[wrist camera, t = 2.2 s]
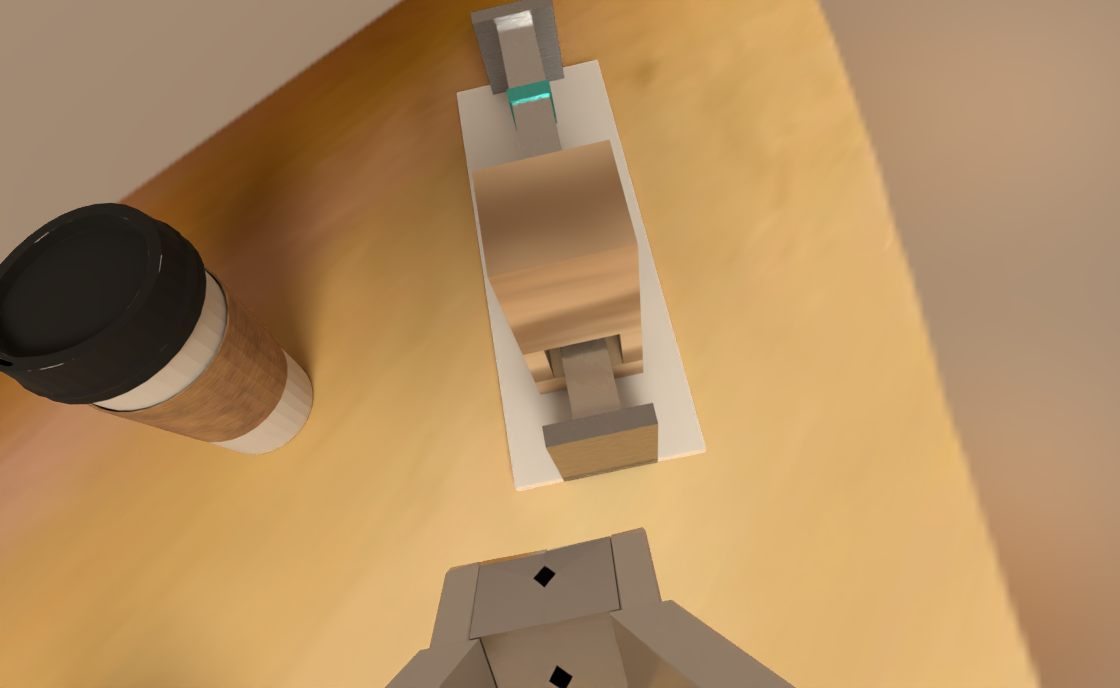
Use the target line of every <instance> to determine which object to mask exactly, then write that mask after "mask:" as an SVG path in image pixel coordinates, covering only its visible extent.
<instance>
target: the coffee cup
mask: <svg viewBox="0 0 1120 688" xmlns="http://www.w3.org/2000/svg"><path fill="white" fill-rule="evenodd" d="M0 371H1V372H4V373H5V374H7V375H9V376H10V377H12V378H14V379H16V380H17V381H18V382H19V383H20V384H21V385H22V386H23V387H24V388H25V389H27V390H29V391H31V392H33V393H35V394H37V395H39V396H42V397H46V398H48V399H50V400H52V401H56V402H61V403H66V404H88V405H89V406H91V407H93V408H95V409H97V410H99V411H102V412H105V413H109V414H112V415H115V416H119V417H122V418H126V419H129V420H133V421H136V422H139V423H143V424H146V425H150V426H153V427H157V428H160V429H163V430H167V431H170V432H174V433H177V434H180V435H184V436H187V437H191V438H194V439H198V440H202V441H207V442H210V443H213V444H216V445H218V446H221V447H224V448H227V449H230V450H234V451H237V452H241V453H245V454H262V453H267V452H270V451H273V450H275V449H278V448H280V447H281V446H283V445H284V444H286V443H288V442H289V441H290V440H291V439H292V438H293V437H295V436H296V434H297V433H298V432H299V431H300V430H301V428H302V427H303V425H304V424H305V422H306V420H307V419H308V416H309V413H310V411H311V407H312V401H313V390H312V386H311V382H310V380H309V378H308V376H307V374H306V373H305V372H304V371H303V369H302V368H301V367H300V366H299V365H298V364H297V363H296V362H295V361H294V360H293V359H292V358H291V357H290V356H289V355H288V354H287V353H286V352H285V351H284V350H283V349H282V348H281V346H280V345H279V344H278V343H277V342H276V340H275V339H274V338H273V337H272V336H271V335H270V334H269V333H268V332H267V331H266V329H265V328H264V327H263V326H262V325H261V324H260V323H259V322H258V321H257V320H256V319H255V317H254V316H253V315H252V314H251V313H250V312H249V311H248V310H247V309H246V308H245V307H244V305H243V304H242V303H241V302H240V301H239V300H238V299H237V298H236V297H235V296H234V295H233V293H232V292H231V291H230V290H229V289H228V288H227V287H226V286H225V285H224V284H223V282H222V281H221V280H220V279H219V278H218V277H217V276H216V275H215V274H214V273H213V272H212V271H210V270H209V269H207V268H206V267H205V266H204V264H203V262H202V259H201V257H200V255H199V253H198V251H197V250H196V249H195V248H194V247H193V245H192V244H191V243H190V242H189V241H188V240H187V239H185V238H184V237H182V235H181V234H180V233H179V232H178V231H176V230H175V229H174V228H172V227H171V226H170V225H168V224H166V223H164V222H161V221H158V220H156V219H153V218H152V217H150V216H148V215H147V214H145V213H143V212H141V211H140V210H138V209H135V208H133V207H130V206H127V205H123V204H115V203H104V204H94V205H90V206H85V207H81V208H78V209H75V210H73V211H70V212H68V213H65V214H63V215H61V216H59V217H57V218H55V219H54V220H52V221H50V222H48V223H47V224H45V225H44V226H42V227H41V228H40V229H38V230H37V231H35V232H34V233H33V234H31V235H30V236H29V237H27V238H26V239H25V240H24V241H23V242H22V243H21V244H20V245H19V246H17V247H16V248H15V249H14V250H13V251H12V252H11V253H10V254H9V256H8V257H7V258H6V259H5V260H4V261H3V262H2V263H1V264H0Z"/></svg>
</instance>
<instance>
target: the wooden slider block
mask: <svg viewBox="0 0 1120 688" xmlns="http://www.w3.org/2000/svg"><path fill="white" fill-rule="evenodd" d="M472 178H473V184H474V191H475V197H476V204H477V211H478V217H479V224H480V230H481V237H482V244H483V250H484V257H485V263H486V270H487V277H488V279H489V282H490V284H491V286H492V288H493V290H494V293H495V295H496V297H497V299H498V301H499V304H500V306H501V308H502V310H503V313H504V315H505V317H506V319H507V321H508V324H509V326H510V328H511V330H512V332H513V335H514V337H515V339H516V341H517V343H518V346H519V348H520V350H521V352H522V355H523V357H524V359H525V361H526V363H527V366H528V368H529V370H530V372H531V374H532V377H533V379H534V381H535V383H536V385H537V388H538V390H539V392H540V394H541V395H542V394H547V393H552V392H556V391H561V390H566V389H567V384H566V379H565V374H564V368H563V363H562V358H561V353H560V348H559V347H562V346H567V345H571V344H576V343H581V342H585V341H590V340H594V339H599V338H604V337H605V340H606V344H607V349H608V353H609V357H610V362H611V366H612V370H613V375H614V379H617V378H622V377H626V376H631V375H636V374H640V373H643V350H642V328H641V305H640V282H639V260H638V243H637V239H636V236H635V232H634V228H633V224H632V221H631V217H630V213H629V210H628V206H627V202H626V199H625V195H624V191H623V188H622V184H621V180H620V176H619V173H618V169H617V165H616V162H615V158H614V154H613V151H612V147H611V143H610V140H605V141H601V142H596V143H592V144H588V145H583V146H579V147H575V148H570V149H566V150H562V151H557V152H553V153H548V154H544V155H540V156H535V157H531V158H527V159H522V160H518V161H514V162H509V163H505V164H501V165H496V166H492V167H487V168H483V169H479V170H474V171H472Z"/></svg>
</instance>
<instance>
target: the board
mask: <svg viewBox="0 0 1120 688" xmlns="http://www.w3.org/2000/svg"><path fill="white" fill-rule="evenodd" d="M563 72H564V78H563V79H559V80H555V81H550V82H549V83H550V88H551V92H552V97H553V103H554V108H555V113H556V119H557V123H556V126H557V130H558V135H559V139H560V143H561V148H562V150H566V149H570V148H575V147H579V146H583V145H588V144H592V143H596V142H601V141H605V140H610V143H611V147H612V151H613V154H614V158H615V162H616V165H617V169H618V173H619V176H620V180H621V184H622V188H623V191H624V195H625V199H626V202H627V206H628V210H629V213H630V217H631V221H632V224H633V228H634V232H635V236H636V239H637V243H638V260H639V282H640V305H641V328H642V350H643V373H640V374H636V375H631V376H626V377H622V378H617V379H615V384H616V388H617V392H618V397H619V401H620V405H621V409H625V408H630V407H634V406H639V405H644V404H649V403H653V405H654V409H655V413H656V417H657V421H658V462H661V461H665V460H670V459H675V458H680V457H685V456H689V455H694V454H699V453H704V452H705V450H706V446H705V442H704V439H703V435H702V432H701V428H700V425H699V421H698V417H697V414H696V410H695V407H694V403H693V399H692V396H691V392H690V389H689V385H688V382H687V378H686V374H685V371H684V367H683V364H682V360H681V357H680V353H679V349H678V346H677V342H676V339H675V335H674V331H673V328H672V324H671V321H670V317H669V314H668V310H667V306H666V303H665V299H664V296H663V292H662V289H661V285H660V281H659V278H658V274H657V271H656V267H655V263H654V260H653V256H652V253H651V249H650V246H649V242H648V238H647V235H646V231H645V228H644V224H643V221H642V217H641V213H640V210H639V206H638V203H637V199H636V196H635V192H634V188H633V185H632V181H631V178H630V174H629V170H628V167H627V163H626V160H625V156H624V153H623V149H622V145H621V142H620V138H619V135H618V131H617V128H616V124H615V120H614V117H613V113H612V110H611V106H610V102H609V99H608V95H607V92H606V88H605V85H604V81H603V77H602V74H601V70H600V67H599V63H598V60H593V61H589V62H584V63H580V64H576V65H572V66H567V67H563ZM456 94H457V101H458V108H459V114H460V121H461V128H462V134H463V141H464V148H465V155H466V161H467V168H468V175H469V182H470V188H471V195H472V202H473V208H474V215H475V222H476V229H477V235H478V242H479V249H480V256H481V262H482V269H483V276H484V282H485V289H486V296H487V303H488V309H489V316H490V323H491V330H492V336H493V343H494V350H495V356H496V363H497V370H498V377H499V383H500V390H501V397H502V404H503V410H504V417H505V424H506V430H507V437H508V444H509V451H510V457H511V464H512V471H513V478H514V484H515V488H516V490H517V491H521V490H526V489H531V488H536V487H540V486H545V485H550V484H555V483H560V482H564V480H563V478H562V476H561V475H560V473H559V471H558V469H557V467H556V465H555V464H554V462H553V460H552V458H551V456H550V455H549V453H548V451H547V449H546V446H545V440H544V435H543V429H542V426H545V425H550V424H554V423H559V422H564V421H568V420H573V415H572V409H571V404H570V399H569V394H568V389H566V390H561V391H556V392H552V393H547V394H542V395H541V394H540V392H539V390H538V388H537V385H536V383H535V381H534V379H533V377H532V374H531V372H530V370H529V368H528V366H527V363H526V361H525V359H524V357H523V355H522V352H521V350H520V348H519V346H518V343H517V341H516V339H515V337H514V335H513V332H512V330H511V328H510V326H509V324H508V321H507V319H506V317H505V315H504V313H503V310H502V308H501V306H500V304H499V301H498V299H497V297H496V295H495V293H494V290H493V288H492V286H491V284H490V282H489V279H488V277H487V270H486V263H485V257H484V250H483V244H482V237H481V230H480V224H479V217H478V211H477V204H476V197H475V191H474V184H473V178H472V171H474V170H479V169H483V168H487V167H492V166H496V165H501V164H505V163H509V162H514V161H518V160H522V159H523V158H522V153H521V148H520V143H519V138H518V133H517V131H516V127H515V124H514V120H513V116H512V112H511V109H510V105H509V101H508V96H507V92H503V93H499V94H495V95H493V92H492V89H491V86H490V85H486V86H482V87H478V88H474V89H469V90H465V91H461V92H457V93H456ZM655 460H656V459H655ZM650 461H651V460H650ZM653 462H654V461H653ZM656 462H657V460H656ZM650 463H651V462H650ZM654 463H655V462H654ZM637 464H638V463H637ZM648 464H649V463H648ZM643 465H644V464H643ZM645 465H646V464H645ZM627 466H628V465H627ZM632 466H633V465H632ZM637 466H638V465H637ZM637 466H636V465H635V466H634V467H637ZM627 468H630V467H629V466H628V467H627ZM621 469H622V468H621ZM621 469H620V470H621ZM625 469H626V468H625ZM617 470H618V468H617ZM614 471H615V469H614ZM602 472H603V473H608V471H607V472H606V471H605V472H604V470H603V471H602ZM609 472H610V470H609ZM596 474H597V472H596ZM592 475H594V474H593V473H592ZM592 475H591V476H592ZM597 475H598V474H597ZM576 476H577V475H576ZM580 476H581V475H580ZM580 476H579V477H580ZM584 476H585V475H584ZM588 476H589V475H588ZM577 477H578V476H577ZM581 477H582V476H581ZM581 477H580V478H581ZM585 477H587V476H585ZM582 478H584V477H582ZM566 480H567V479H566ZM571 480H572V479H571ZM567 481H568V480H567Z"/></svg>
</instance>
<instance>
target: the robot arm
mask: <svg viewBox="0 0 1120 688" xmlns="http://www.w3.org/2000/svg"><path fill="white" fill-rule="evenodd" d="M385 688H795V687H794V686H793V685H791V684H790V683H788V682H787V681H785V680H784V679H783V678H781V677H780V676H778V675H777V674H776V673H774V672H773V671H771V670H770V669H769V668H767V667H766V666H764V665H763V664H761V663H760V662H759V661H757V660H756V659H754V658H753V657H752V656H750V655H749V654H747V653H746V652H745V651H743V650H742V649H740V648H739V647H738V646H736V645H735V644H733V643H732V642H730V641H729V640H728V639H726V638H725V637H723V636H722V635H721V634H719V633H718V632H716V631H715V630H714V629H712V628H711V627H709V626H708V625H707V624H705V623H704V622H702V621H701V620H699V619H698V618H697V617H695V616H694V615H692V614H691V613H690V612H688V611H687V610H685V609H684V608H683V607H681V606H680V605H678V604H677V603H676V602H674V601H673V600H669V601H663V602H662V600H661V596H660V592H659V587H658V583H657V579H656V574H655V570H654V565H653V561H652V557H651V552H650V548H649V544H648V539H647V535H646V531H645V530H644V528H643V527H642V528H638V529H634V530H630V531H626V532H622V533H618V534H613V535H611V537H610V536H609V537H605V538H600V539H595V540H591V541H586V542H582V543H577V544H573V545H568V546H563V547H559V548H554V549H550V550H547V549H546V550H541V551H535V552H530V553H525V554H519V555H514V556H508V557H503V558H498V559H492V560H487V561H483V562H477V563H472V564H467V565H462V566H457V567H452V568H450V569H449V570H448V572H447V573H446V575H445V579H444V584H443V589H442V593H441V598H440V602H439V607H438V611H437V616H436V621H435V625H434V630H433V634H432V639H431V643H430V648H429V649H425V650H420V651H419V652H418V653H417V654H416V655H415V656H414V657H413V658H412V659H411V660H410V661H409V662H408V664H407V665H406V666H405V667H404V668H403V669H402V670H401V671H400V672H399V673H398V674H397V675H396V676H395V677H394V678H393V680H392V681H391V682H390V683H389V684H388V685H387V686H386V687H385Z"/></svg>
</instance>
